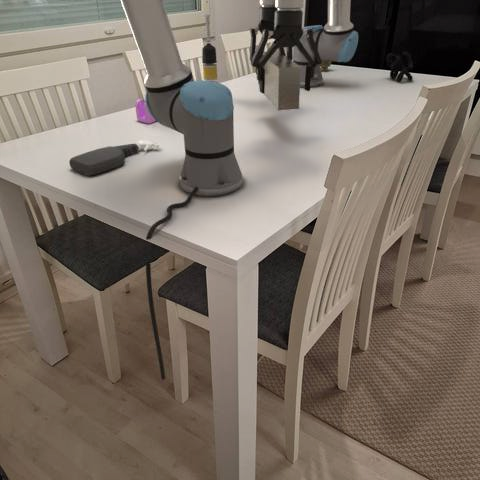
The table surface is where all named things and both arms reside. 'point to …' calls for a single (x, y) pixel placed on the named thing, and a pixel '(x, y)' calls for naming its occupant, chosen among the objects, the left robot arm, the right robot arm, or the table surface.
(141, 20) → the left robot arm
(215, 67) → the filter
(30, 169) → the table surface
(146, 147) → the spray bottle
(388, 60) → the squiggle
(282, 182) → the table surface
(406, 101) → the table surface
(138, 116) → the bracket
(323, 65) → the cup
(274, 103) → the box
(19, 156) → the table surface
